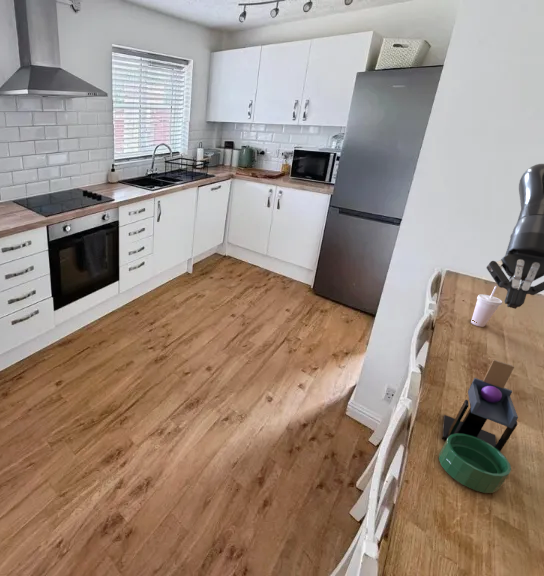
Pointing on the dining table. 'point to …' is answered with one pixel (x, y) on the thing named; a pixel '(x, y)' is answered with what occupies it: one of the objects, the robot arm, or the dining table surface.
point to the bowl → (474, 463)
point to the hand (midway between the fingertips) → (512, 306)
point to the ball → (491, 394)
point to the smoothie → (485, 308)
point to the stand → (473, 427)
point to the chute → (495, 411)
